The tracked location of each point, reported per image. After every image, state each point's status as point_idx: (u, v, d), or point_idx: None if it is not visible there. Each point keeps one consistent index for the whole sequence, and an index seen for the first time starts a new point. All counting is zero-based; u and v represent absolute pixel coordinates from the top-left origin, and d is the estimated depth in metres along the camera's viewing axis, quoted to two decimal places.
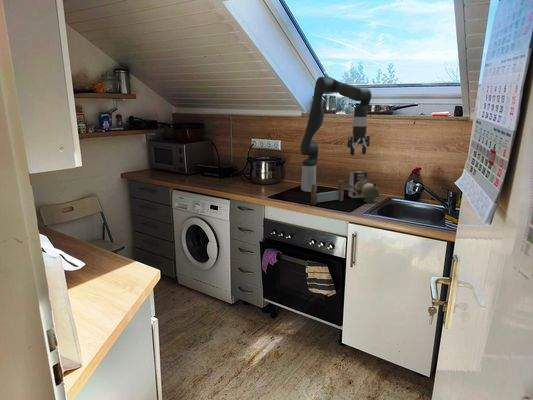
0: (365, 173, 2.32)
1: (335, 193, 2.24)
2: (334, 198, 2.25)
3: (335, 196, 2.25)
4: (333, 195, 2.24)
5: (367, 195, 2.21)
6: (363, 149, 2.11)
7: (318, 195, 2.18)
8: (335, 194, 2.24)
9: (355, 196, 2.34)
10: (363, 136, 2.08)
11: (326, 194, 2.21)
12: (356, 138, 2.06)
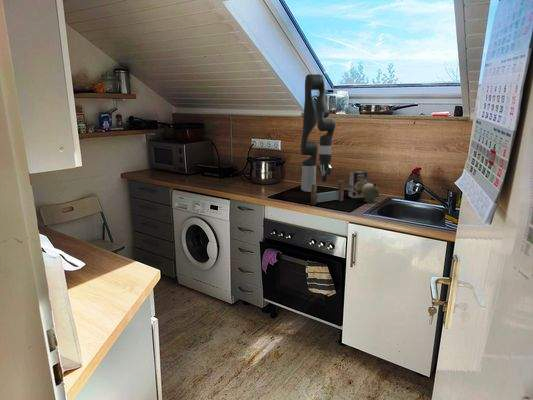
0: (365, 173, 2.32)
1: (335, 193, 2.24)
2: (334, 198, 2.25)
3: (335, 196, 2.25)
4: (333, 195, 2.24)
5: (367, 195, 2.21)
6: None
7: (318, 195, 2.18)
8: (335, 194, 2.24)
9: (355, 196, 2.34)
10: None
11: (326, 194, 2.21)
12: None
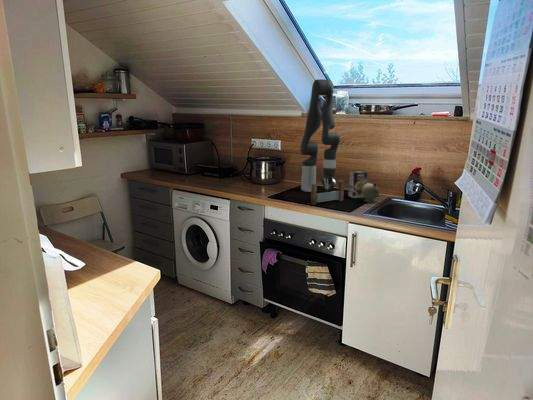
0: (365, 173, 2.32)
1: (335, 193, 2.24)
2: (334, 198, 2.25)
3: (335, 196, 2.25)
4: (333, 195, 2.24)
5: (367, 195, 2.21)
6: None
7: (318, 195, 2.18)
8: (335, 194, 2.24)
9: (355, 196, 2.34)
10: None
11: (326, 194, 2.21)
12: None
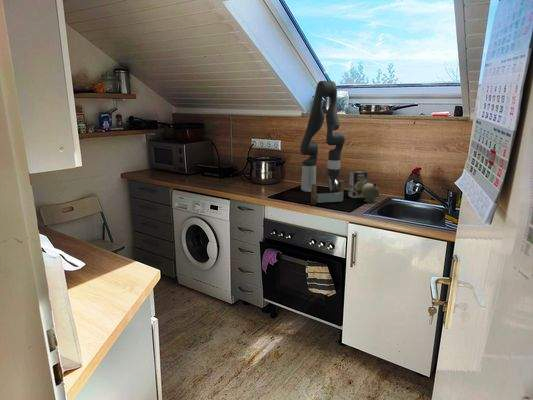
0: (365, 173, 2.32)
1: (339, 194, 2.20)
2: (337, 200, 2.21)
3: (338, 198, 2.21)
4: (336, 196, 2.20)
5: (367, 195, 2.21)
6: None
7: (318, 195, 2.17)
8: (339, 196, 2.20)
9: (355, 196, 2.34)
10: None
11: (328, 195, 2.19)
12: None
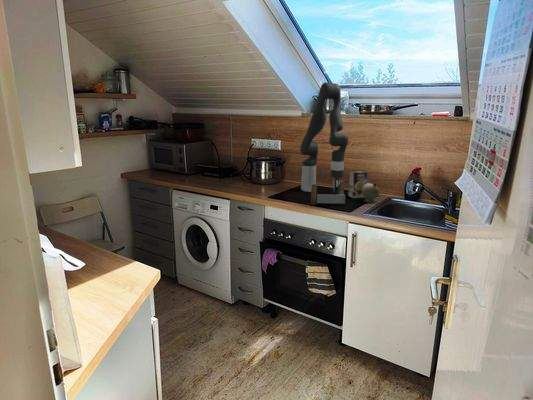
0: (365, 173, 2.32)
1: (341, 196, 2.15)
2: (339, 202, 2.16)
3: (340, 200, 2.16)
4: (338, 198, 2.16)
5: (367, 195, 2.21)
6: None
7: (318, 196, 2.16)
8: (341, 198, 2.16)
9: (355, 196, 2.34)
10: None
11: (329, 196, 2.16)
12: (338, 183, 2.14)
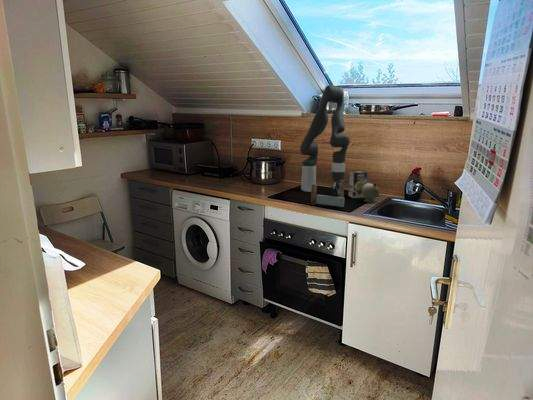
0: (365, 173, 2.32)
1: (339, 199, 2.09)
2: (338, 204, 2.10)
3: (339, 203, 2.10)
4: (336, 201, 2.10)
5: (367, 195, 2.21)
6: None
7: (317, 196, 2.15)
8: (339, 200, 2.09)
9: (355, 196, 2.34)
10: (341, 179, 2.13)
11: (327, 197, 2.12)
12: (337, 185, 2.09)
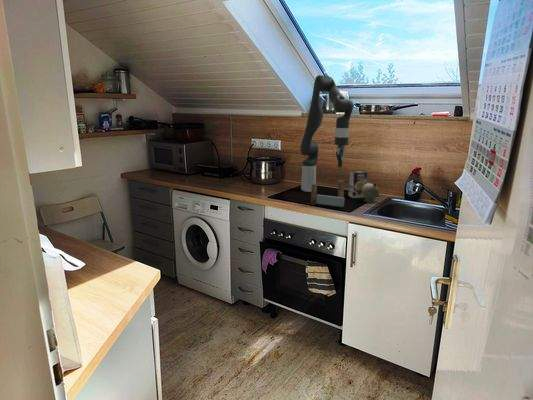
0: (365, 173, 2.32)
1: (339, 199, 2.09)
2: (338, 204, 2.10)
3: (339, 203, 2.10)
4: (336, 201, 2.10)
5: (367, 195, 2.21)
6: None
7: (317, 196, 2.15)
8: (339, 200, 2.09)
9: (355, 196, 2.34)
10: (344, 145, 2.12)
11: (327, 197, 2.12)
12: (341, 151, 2.08)
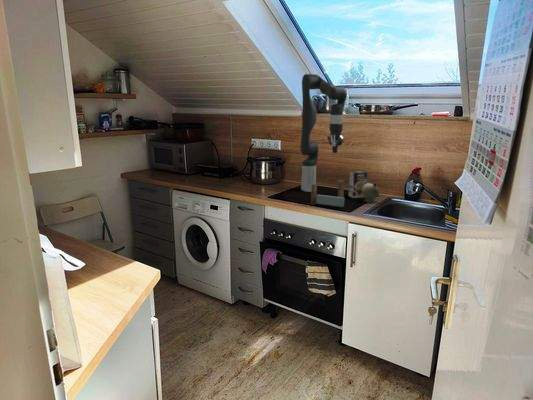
0: (365, 173, 2.32)
1: (339, 199, 2.09)
2: (338, 204, 2.10)
3: (339, 203, 2.10)
4: (336, 201, 2.10)
5: (367, 195, 2.21)
6: None
7: (317, 196, 2.15)
8: (339, 200, 2.09)
9: (355, 196, 2.34)
10: None
11: (327, 197, 2.12)
12: None
